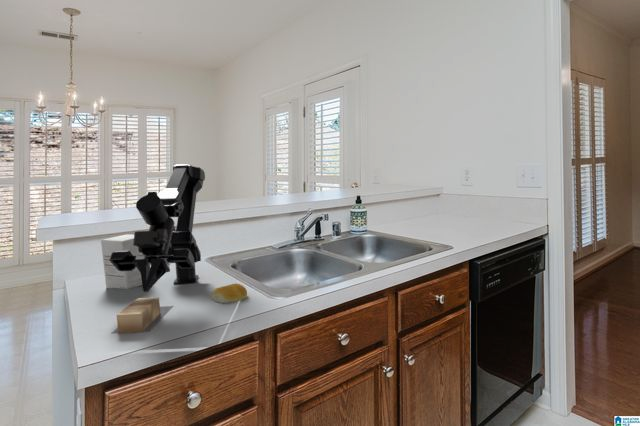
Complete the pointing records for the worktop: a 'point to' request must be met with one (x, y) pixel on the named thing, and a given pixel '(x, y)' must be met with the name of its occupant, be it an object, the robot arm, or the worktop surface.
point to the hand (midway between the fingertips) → (145, 291)
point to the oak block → (138, 315)
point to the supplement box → (111, 273)
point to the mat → (162, 313)
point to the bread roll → (229, 293)
